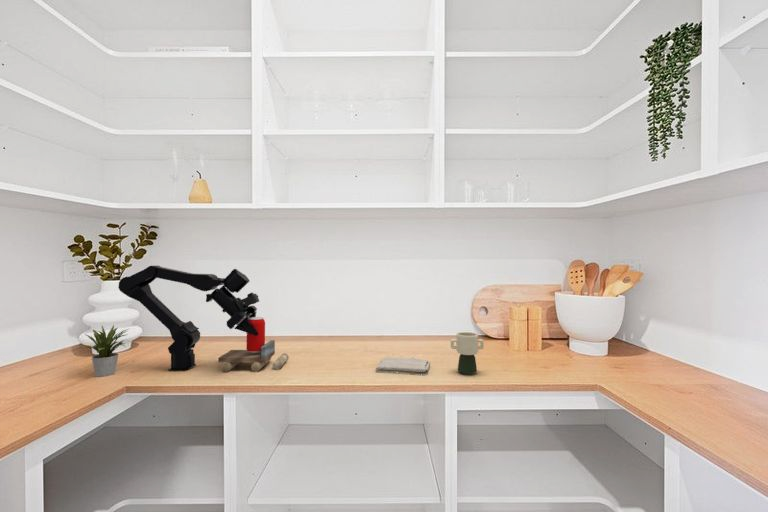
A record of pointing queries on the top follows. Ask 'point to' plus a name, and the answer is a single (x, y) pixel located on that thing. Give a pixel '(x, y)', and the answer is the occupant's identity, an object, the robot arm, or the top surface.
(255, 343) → the beverage can
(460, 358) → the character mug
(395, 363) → the washcloth
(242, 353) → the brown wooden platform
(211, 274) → the robot arm
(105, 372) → the house plant
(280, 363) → the roller
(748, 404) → the top surface
